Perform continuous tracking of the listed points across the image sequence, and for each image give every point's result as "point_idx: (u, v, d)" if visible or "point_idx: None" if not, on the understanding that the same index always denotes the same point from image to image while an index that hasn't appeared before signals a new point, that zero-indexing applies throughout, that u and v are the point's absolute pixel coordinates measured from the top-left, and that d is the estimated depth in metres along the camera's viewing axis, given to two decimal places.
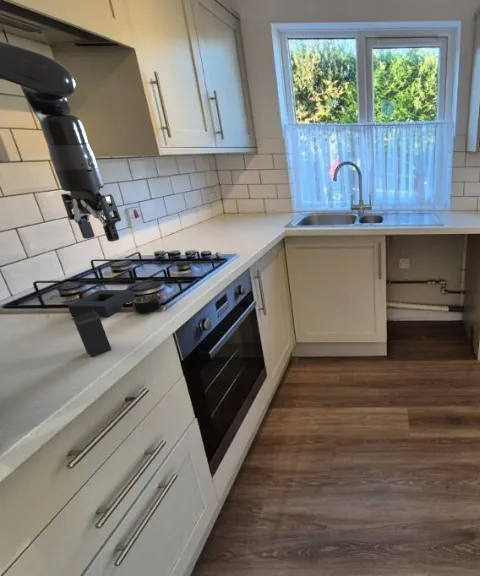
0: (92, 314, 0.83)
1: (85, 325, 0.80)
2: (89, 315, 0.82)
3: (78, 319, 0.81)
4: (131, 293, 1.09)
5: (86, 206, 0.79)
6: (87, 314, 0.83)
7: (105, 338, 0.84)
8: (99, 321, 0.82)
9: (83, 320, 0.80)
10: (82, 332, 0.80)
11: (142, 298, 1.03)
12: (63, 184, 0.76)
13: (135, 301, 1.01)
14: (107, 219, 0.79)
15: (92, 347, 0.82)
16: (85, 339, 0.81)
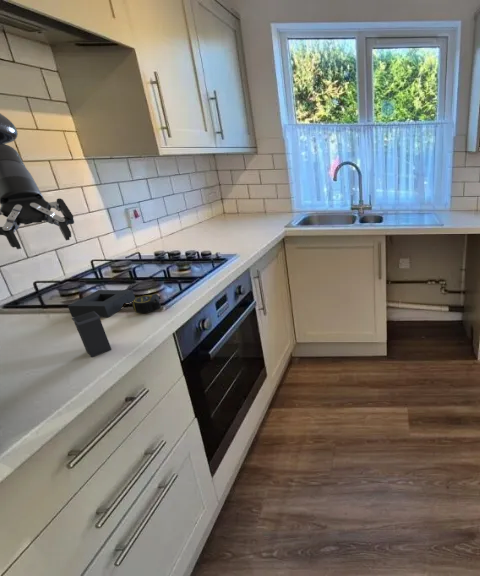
0: (92, 314, 0.83)
1: (85, 325, 0.80)
2: (89, 315, 0.82)
3: (78, 319, 0.81)
4: (131, 293, 1.09)
5: (38, 207, 0.83)
6: (87, 314, 0.83)
7: (105, 338, 0.84)
8: (99, 321, 0.82)
9: (83, 320, 0.80)
10: (82, 332, 0.80)
11: (142, 298, 1.03)
12: (17, 186, 0.81)
13: (135, 301, 1.01)
14: (69, 215, 0.86)
15: (92, 347, 0.82)
16: (85, 339, 0.81)
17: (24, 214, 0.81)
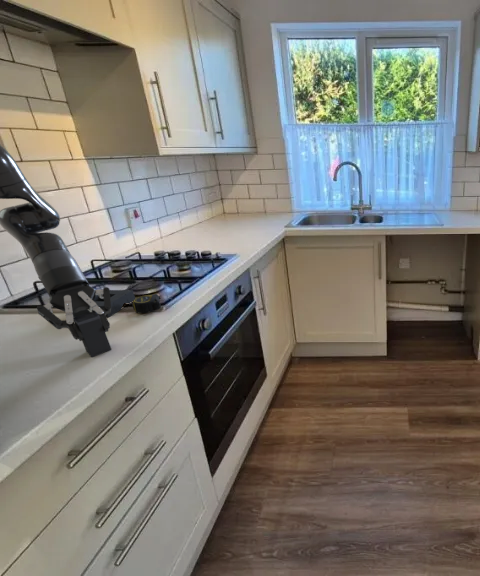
0: (92, 314, 0.83)
1: (85, 325, 0.80)
2: (89, 315, 0.82)
3: (78, 319, 0.81)
4: (131, 293, 1.09)
5: (85, 296, 0.83)
6: (87, 314, 0.83)
7: (105, 338, 0.84)
8: (99, 321, 0.82)
9: (83, 320, 0.80)
10: (82, 332, 0.80)
11: (142, 298, 1.03)
12: (66, 276, 0.81)
13: (135, 301, 1.01)
14: (107, 305, 0.85)
15: (92, 347, 0.82)
16: (85, 339, 0.81)
17: (75, 302, 0.82)
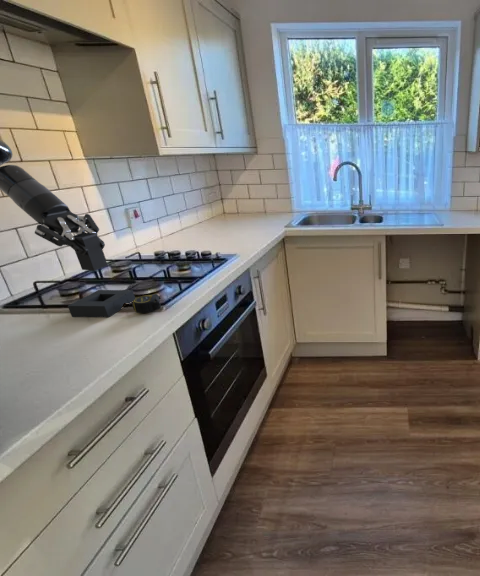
0: (87, 233, 0.94)
1: (87, 241, 0.93)
2: (85, 234, 0.94)
3: (78, 236, 0.92)
4: (131, 293, 1.09)
5: (75, 219, 0.94)
6: (82, 234, 0.94)
7: (102, 254, 0.97)
8: (97, 238, 0.95)
9: (85, 236, 0.92)
10: (86, 246, 0.92)
11: (142, 298, 1.03)
12: (54, 201, 0.91)
13: (135, 301, 1.01)
14: (95, 228, 0.97)
15: (94, 261, 0.95)
16: (88, 253, 0.93)
17: (67, 224, 0.92)
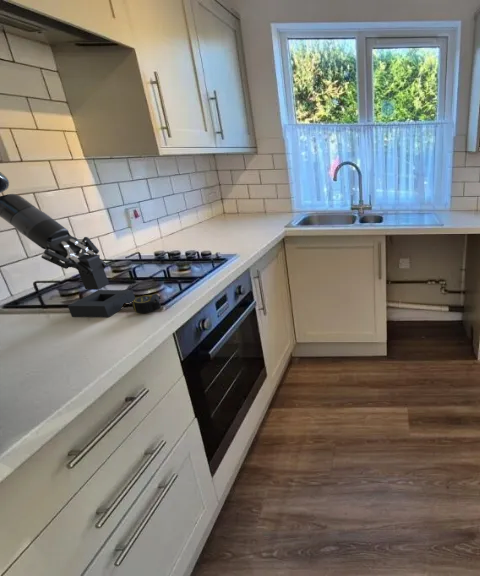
0: (89, 255, 1.01)
1: (92, 262, 0.99)
2: (87, 256, 1.01)
3: (82, 258, 0.99)
4: (131, 293, 1.09)
5: (76, 242, 1.00)
6: (84, 256, 1.01)
7: (104, 274, 1.04)
8: (99, 259, 1.02)
9: (89, 258, 0.99)
10: (90, 267, 0.99)
11: (142, 298, 1.03)
12: (57, 226, 0.97)
13: (135, 301, 1.01)
14: (95, 249, 1.04)
15: (98, 281, 1.01)
16: (93, 273, 1.00)
17: (70, 247, 0.99)
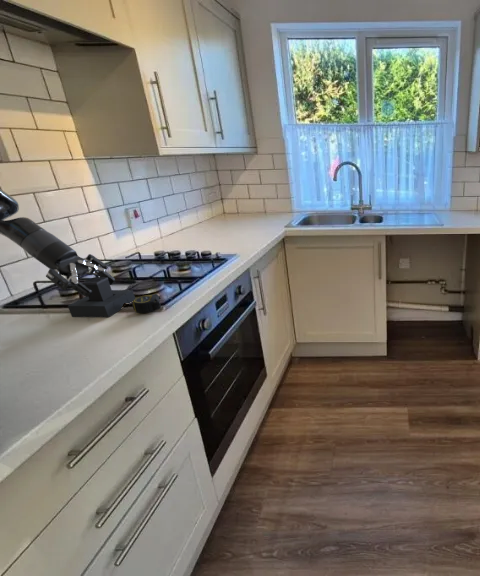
0: (98, 278, 1.04)
1: (100, 285, 1.02)
2: (96, 279, 1.04)
3: (91, 281, 1.02)
4: (131, 293, 1.09)
5: (84, 263, 1.03)
6: (93, 279, 1.03)
7: (112, 295, 1.06)
8: (108, 281, 1.05)
9: (98, 281, 1.02)
10: (99, 290, 1.02)
11: (142, 298, 1.03)
12: (65, 248, 0.99)
13: (135, 301, 1.01)
14: (104, 265, 1.08)
15: None
16: (102, 296, 1.03)
17: (77, 270, 1.01)
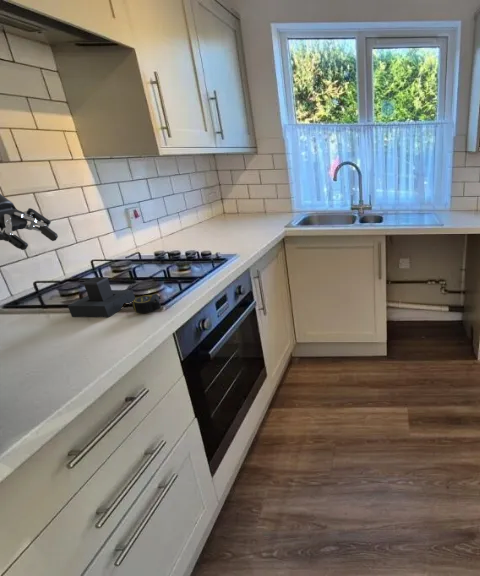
0: (98, 278, 1.04)
1: (100, 285, 1.02)
2: (96, 279, 1.04)
3: (91, 281, 1.02)
4: (131, 293, 1.09)
5: (22, 215, 0.96)
6: (93, 279, 1.03)
7: (112, 295, 1.06)
8: (108, 281, 1.05)
9: (98, 281, 1.02)
10: (99, 290, 1.02)
11: (142, 298, 1.03)
12: (0, 198, 0.93)
13: (135, 301, 1.01)
14: (46, 220, 1.01)
15: None
16: (102, 296, 1.03)
17: (13, 222, 0.94)
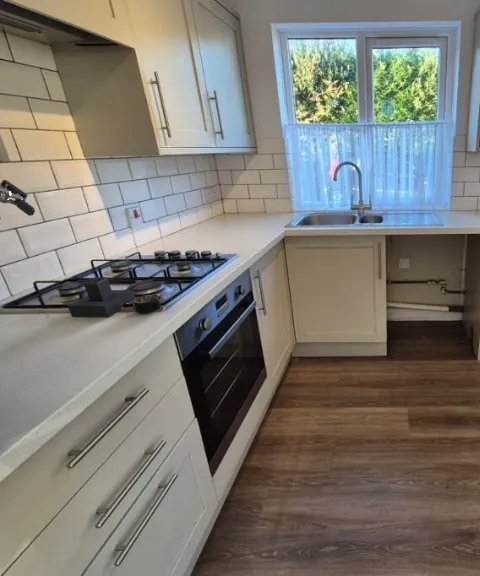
0: (98, 278, 1.04)
1: (100, 285, 1.02)
2: (96, 279, 1.04)
3: (91, 281, 1.02)
4: (131, 293, 1.09)
5: None
6: (93, 279, 1.03)
7: (112, 295, 1.06)
8: (108, 281, 1.05)
9: (98, 281, 1.02)
10: (99, 290, 1.02)
11: (142, 298, 1.03)
12: None
13: (135, 301, 1.01)
14: (23, 193, 0.94)
15: None
16: (102, 296, 1.03)
17: None
